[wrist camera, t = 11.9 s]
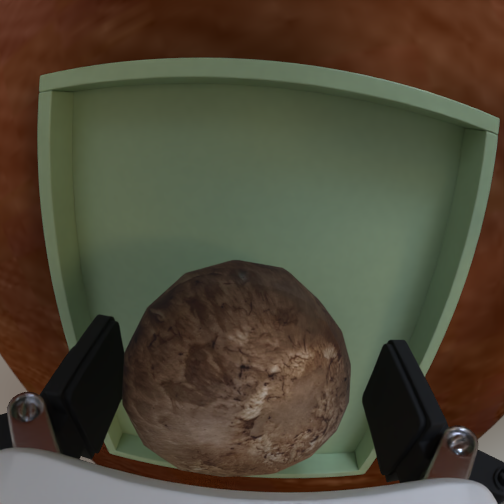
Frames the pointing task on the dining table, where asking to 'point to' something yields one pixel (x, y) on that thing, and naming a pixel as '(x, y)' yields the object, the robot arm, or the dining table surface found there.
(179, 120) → the tray
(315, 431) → the mushroom
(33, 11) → the dining table surface
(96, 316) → the robot arm
